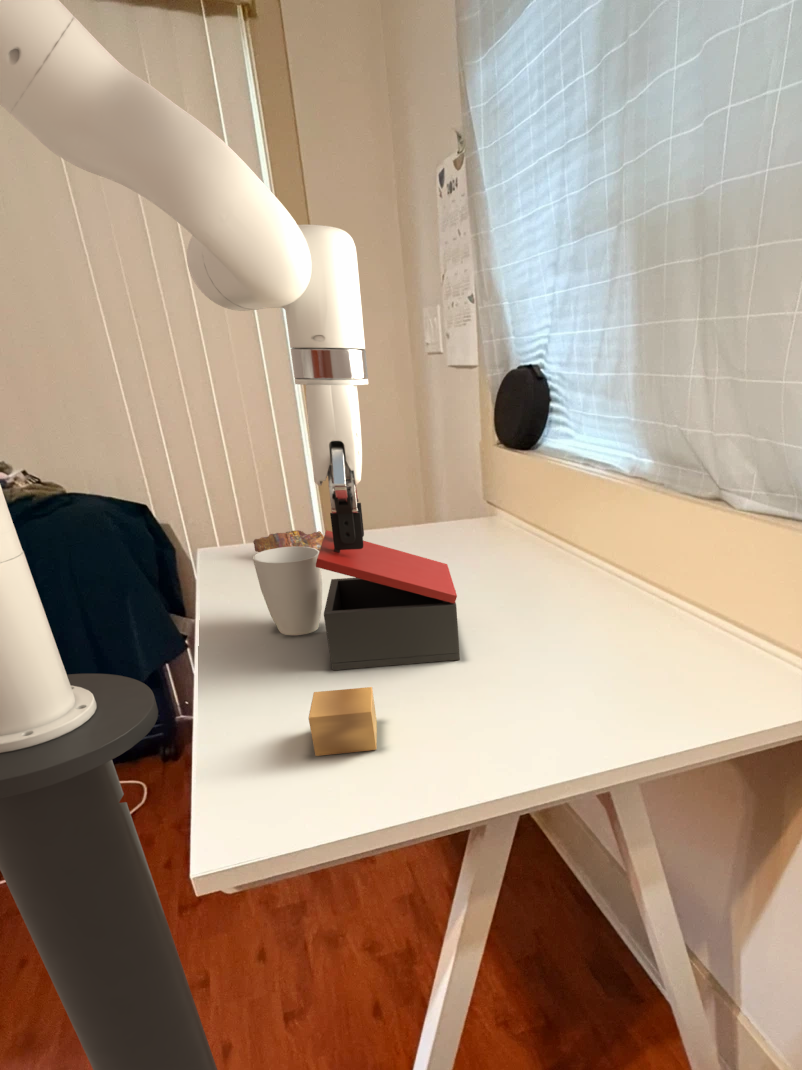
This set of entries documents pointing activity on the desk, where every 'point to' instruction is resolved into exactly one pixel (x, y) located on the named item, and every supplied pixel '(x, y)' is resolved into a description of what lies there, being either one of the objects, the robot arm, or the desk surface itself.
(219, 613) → the desk surface
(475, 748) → the desk surface
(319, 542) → the mineral specimen
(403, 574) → the lid
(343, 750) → the wooden block
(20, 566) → the robot arm
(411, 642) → the dark tray bin
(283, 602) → the cup
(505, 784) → the desk surface
